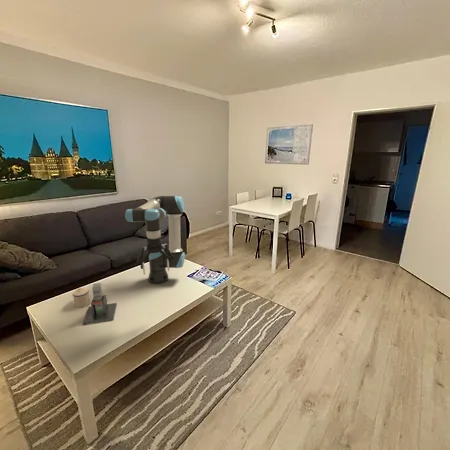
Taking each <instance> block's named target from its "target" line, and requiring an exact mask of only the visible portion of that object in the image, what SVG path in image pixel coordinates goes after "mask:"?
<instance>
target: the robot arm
mask: <svg viewBox="0 0 450 450" xmlns="http://www.w3.org/2000/svg"><path fill="white" fill-rule="evenodd" d="M184 212H185V202H184V198H183V197H182V196H181V195H180V196H179V195H159V196H155V197H152V198H149V200H147V202H146V203H144V204H142V205H140V206H137V207H136V208H128V209H126V210H125V213H124V218H125V220H126V221H127V222H130V223H131V222H132V223H145V232H146V233H145V234H146V243H147V246H144V245H141V250H140V252H139V255H138V257H137V260H136V263H137V264H140V269H141V270H142V272H143V275H146V270H145V261H146V259H147V258H148V262H149V263H148V264H149V274H148V277H147V280H148V282H149V283H150V284H152V285H153V284H154V285H159V284H163V282H164V283H165V281H166V282H167V281H168V280H169V273H168V272H170V269H171V268H172V269H181V268H183V266H184V263H185V261H186V252H184V250H183V248H182V247H181V245H182V244H181V242H182V241H181V239H182V238H181V216H182V215H183V213H184ZM166 216H167V218H168V244H167V243H166V242H165V243H164V244H162V237H161V233H162V232H161V223H162V222H163V221H164V220H165V218H166ZM162 248H163V249H162ZM146 250H147V252H146V253H145V254H144V252H145V251H146ZM165 250H166V251H165ZM166 269H167V270H166Z"/></svg>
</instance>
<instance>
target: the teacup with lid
mask: <svg viewBox="0 0 450 450" xmlns="http://www.w3.org/2000/svg"><path fill="white" fill-rule="evenodd" d="M72 297H73V302H74V308H78V309H80V308H81V309H82V308H85V307H88V306H89V304H90V305H91V299H90V298H91V297H90V290H89V288H86V287H81V286H80V287H79V288H78V289H75V290H74V291H73V292H72Z"/></svg>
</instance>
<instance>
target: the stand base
mask: <svg viewBox="0 0 450 450" xmlns="http://www.w3.org/2000/svg"><path fill="white" fill-rule="evenodd" d="M91 299H92V300H91V301H90V306H88V308H87V311H86V313H85V316H84V318H83V321H82V325H83V326H85V325H92V324H96V323H97V324H98V323H105V322H109V321H114V319H115V314H116V309H117V306H118V304H117V302H113V303H108V299H107V295H106V294H104V295H103V301H101V302H94V296H93V297H92V298H91ZM95 304H102V305H103V311H104V313H103V314H96V309H95Z"/></svg>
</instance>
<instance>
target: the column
mask: <svg viewBox="0 0 450 450" xmlns="http://www.w3.org/2000/svg"><path fill="white" fill-rule="evenodd" d="M91 290H92V293H93V294H92V296H93V297H94V302H101V301H103V287H102V282H101V283H100V282H99V283H93V285H92V287H91ZM95 309H96V314H103V313H104V311H103V305H102V304H95Z"/></svg>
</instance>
